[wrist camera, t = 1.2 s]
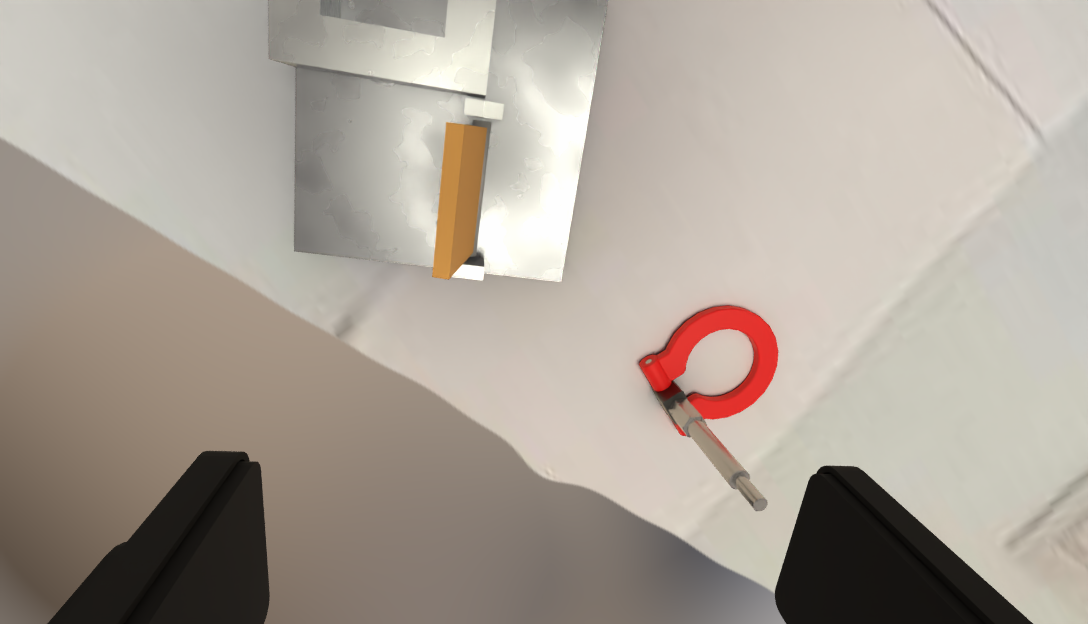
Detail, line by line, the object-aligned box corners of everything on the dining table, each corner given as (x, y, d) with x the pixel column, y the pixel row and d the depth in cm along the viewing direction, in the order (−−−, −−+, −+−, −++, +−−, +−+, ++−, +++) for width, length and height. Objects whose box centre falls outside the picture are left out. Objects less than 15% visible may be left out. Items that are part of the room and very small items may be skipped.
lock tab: (475, 119, 31) (444, 114, 23) (492, 122, 31) (467, 118, 23) (461, 251, 33) (429, 282, 26) (477, 253, 33) (450, 286, 26)
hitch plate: (304, -202, 26) (266, -274, 21) (625, -124, 28) (654, -173, 24) (299, 247, 33) (269, 268, 28) (558, 277, 35) (571, 301, 31)
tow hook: (743, 281, 37) (628, 352, 38) (883, 350, 25) (713, 454, 26) (786, 372, 40) (679, 438, 41) (930, 474, 28) (777, 566, 29)
